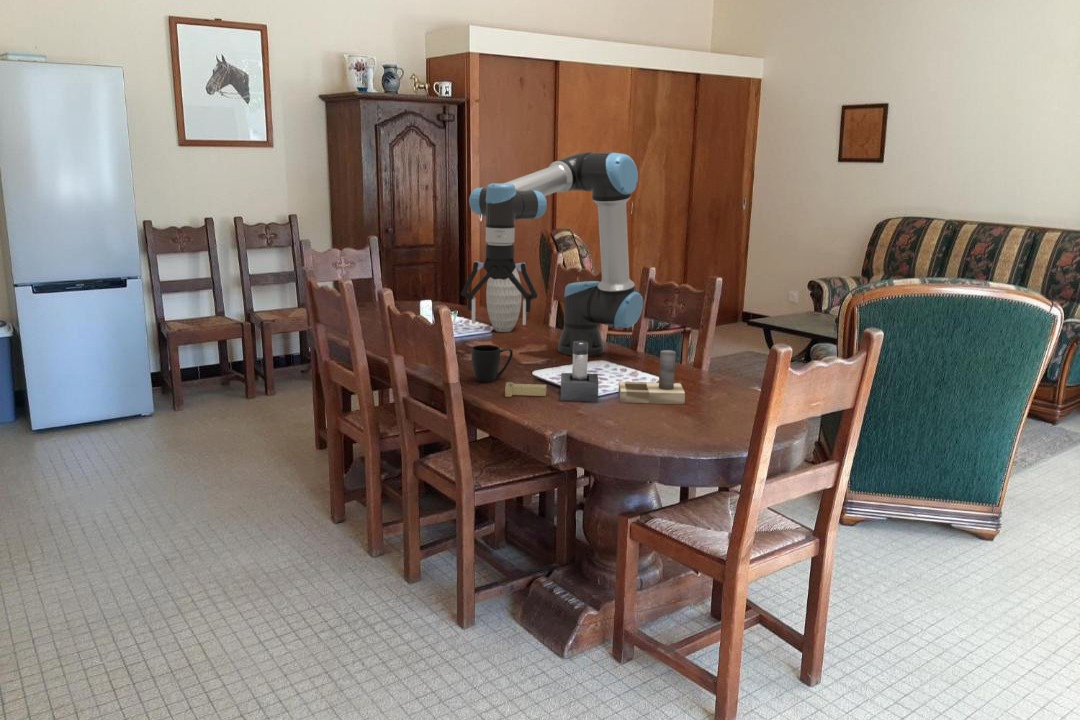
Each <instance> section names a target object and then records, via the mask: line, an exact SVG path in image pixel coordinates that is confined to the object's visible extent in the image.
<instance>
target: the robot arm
mask: <svg viewBox="0 0 1080 720" xmlns="http://www.w3.org/2000/svg"><path fill="white" fill-rule="evenodd" d="M638 181H639V172H638V168H637V165H636V163H635V161H634V160H633V159H632V157H631V156H629V155H628V154H625V153H618V152H589V151H587V152H581V153H575V154H573V155H570V156H567V157H564V158H561V159H559V160H555V161H553V162H551V163H550V165H549V166H548V167H545V168H543V169H540V170H537V171H535V172H532V173H530V174H526V175H523V176H520V177H518V178H514V179H511V180H509V181H507V182H504V183H490V184H488V185H487V187H485V186H484V187H476V188H474V189H473V190H472V191H471V193H470V195H469V197H468V199H469V200H468V203H469V208H470V211H471V212H473V213H474V214H475V215H480V216H483V217H485V242H486V245H485V260H484V262H480V261H478V260H475V261H474V262H473V264H472V271H471V273H470V274H469V277H468V279H467V280H466V283H465V284H464V287H463V288H462V290H461V292H460V296H461V297H464V298H466V299H467V311H471V324H472V325H473V324H475V323H476V307H477V306H476V305H477V304H476V297H474V296H475V295H476V293H478V292H479V291H480V289H482V287H483V286H484V285H485V283H487V282H488V279H489V278H490V277H491V278H492V279H502V280H505V279H507V278H509V279H510V281H511V282H512V283H513V284H514V285H515V286H516V288H517V289H518V290H519V291H520V293H521V296H523V299H522V325H523V326H526V324H527V313H530V312H531V301H532V300H534V299H537V298H538V292H537V290H536V288H535V286H534V284H533V282H532V280H531V277H530V276H529V273H528V271H527V265H526V264H527V263H526V262H525V261H524V262H519V263H516V262H515V246H514V243H515V238H516V237H515V235H516V234H515V229H516V227H515V226H516V225H515V224H516V223H515V222H516V221H518V220H534V219H540V218H541V217H543V216H544V214H545V213H546V210H547V206H548V205H547V204H548V203H547V198H546V197H547V196H549V195H552V194H554V193H563V194H564V193H567V192H571V191H573V192H575V191H579V192H580V191H582V192H590V193H591V195H592V196H591V197H592V201H593V202H594V203H595V204H596V205H597V212H598V214H597V216H598V218H597V219H598V232H599V233H598V234H599V247H600V249H599V250H600V267H601V281H598V280H597V281H596V280H590V281H586V280H585V281H579V282H578V281H576V282H571V283H567V285H566V286H565V289H564V296H563V298H564V307H563V309H564V311H563V312H564V313H563V314H564V315H563V316H564V318H563V322H564V323H563V329H562V331H561V334H560V338H559V340H558V344H557V351H558V352H559V353H560V354H563V355H565V356H566V355H568V356H572V357H573V342H574V341H586V342H588V357H593V356H599V355H602V354H603V353H604V350H605V347H604V346H605V345H604V342H603V338H602V334H601V331H600V324H601V325H605V326H610V327H615V328H626V329H627V328H631V327H633V326H634V325H635V324H637V322H638V321H639V319H640V317H641V315H642V313H643V307H644V299H643V296H642V295H641V293H639V291H636V290H635V289H636V288H635V286H636V285H635V282H634V281H633V280H632V279H630V263H629V261H630V260H629V258H630V257H629V240H628V237H629V236H628V215H627V202H628V201H629V200H630V199H631V197H632V195H631V194H632V193H633V192H635V190H636V189H637V184H638V183H639V182H638ZM482 268H484V270H485V272H486V273H485V275H484V276H483V277H482V278H481V279H480V281H479V282H478V283H476V285H475V286H474V288H473V289H471V291H470V292H469V289H470V287H471V284H472V283H473V281H474V279H475V277H476V276H477V274H478V271H480V270H481V269H482ZM515 268H516V269H517V271H518V272H521V275H522V277H523V279H524V281H525V283H526V286H527V287H528V290H529V292H530V294H529V292H528V291H527V290H526V288H525V287H524V286H523V284H522V283H521V284H520V282H521V281H520V282H519V281H518V280H517V279H516V277H515V276H514V275H513V273H512V272H513V271H514V270H515Z"/></svg>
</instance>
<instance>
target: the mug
mask: <svg viewBox="0 0 1080 720" xmlns="http://www.w3.org/2000/svg"><path fill="white" fill-rule="evenodd" d="M503 352H509V357H508V358H507V361H506V362H505V364H504V366H503V367H502V369H501V370H500V371H499V368H500V363H501V353H503ZM513 354H514V351H513V348H503V349H501V348H500V346H498V345H494V344H493V345H491V344H479V345H475V346H472V347H471V364H472V369H473V373H474V376H475V381H477V382H479V383H485V384H486V383H493V382H495V381H496V379H498V378H500V377H501V376H502V374H503V373H504V372H505V371H506V369H507V367H508V365H509V364H510V362H511V360H512V358H513Z"/></svg>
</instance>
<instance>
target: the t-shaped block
mask: <svg viewBox="0 0 1080 720" xmlns="http://www.w3.org/2000/svg"><path fill="white" fill-rule="evenodd" d="M513 396H531V397H532V396H535V397H546V396H547V384H537V383H536V384H533V383H514V382H513V381H507V382H506V383H505V388H504V397H507V398H508V397H509V398H510V397H513Z"/></svg>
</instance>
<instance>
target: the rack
mask: <svg viewBox="0 0 1080 720" xmlns="http://www.w3.org/2000/svg"><path fill="white" fill-rule="evenodd" d="M676 354H677V352H676V351H674V350H671V349H667V350H665V349H663V350H661V351H660V354H659V355H660V356H659V357H660V358H659V371H658V373H659V376H658V382H652V381H651V382H645V381H618V391H619V392H618V396H619V402H620V403H624V404H625V403H628V404H629V403H631V404H634V403H635V404H657V405H658V404H661V405H685V402H686V401H685V399H686V392H685V390H684V388H683V386H682V383H680V382H675V370H676Z"/></svg>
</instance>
